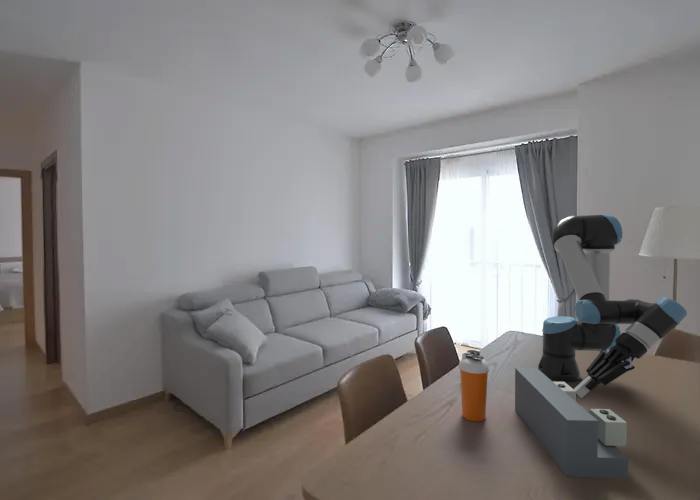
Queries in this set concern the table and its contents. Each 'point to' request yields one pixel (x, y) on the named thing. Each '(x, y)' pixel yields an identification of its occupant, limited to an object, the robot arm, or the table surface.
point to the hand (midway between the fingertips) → (577, 394)
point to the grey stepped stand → (565, 428)
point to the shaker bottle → (473, 386)
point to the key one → (567, 389)
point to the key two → (610, 427)
